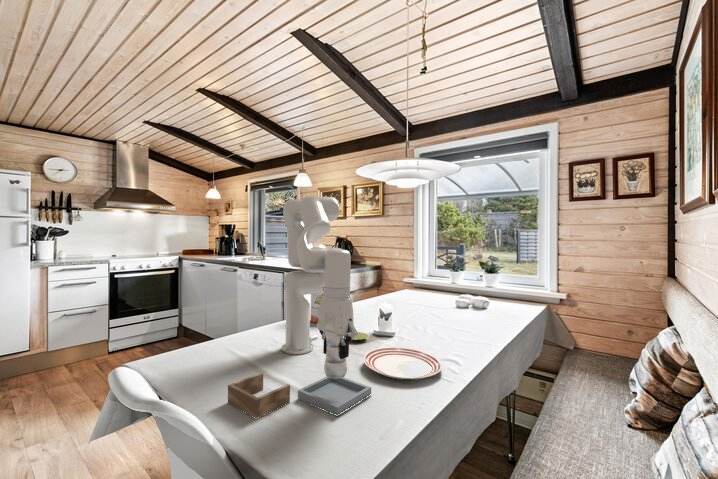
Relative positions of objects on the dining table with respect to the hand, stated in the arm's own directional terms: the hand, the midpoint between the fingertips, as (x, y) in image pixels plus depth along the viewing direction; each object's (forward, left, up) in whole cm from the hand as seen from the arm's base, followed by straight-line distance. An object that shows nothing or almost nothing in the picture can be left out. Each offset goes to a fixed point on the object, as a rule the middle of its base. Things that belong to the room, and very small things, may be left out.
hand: (335, 354), depth 100 cm
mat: (-45, -28, -13) cm, 55 cm away
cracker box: (-57, -58, -13) cm, 82 cm away
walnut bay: (+16, -14, -12) cm, 25 cm away
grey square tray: (0, 0, -12) cm, 12 cm away
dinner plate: (-31, +4, -13) cm, 34 cm away
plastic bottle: (0, 0, -7) cm, 7 cm away
